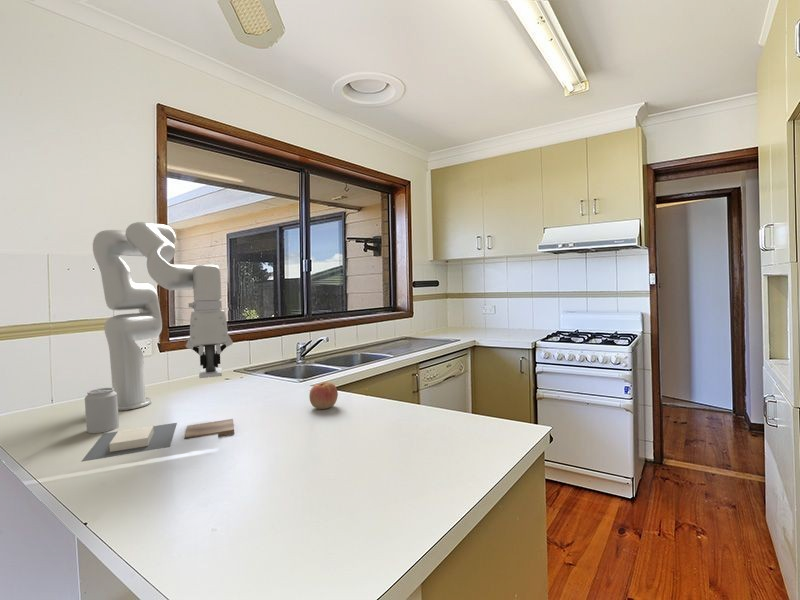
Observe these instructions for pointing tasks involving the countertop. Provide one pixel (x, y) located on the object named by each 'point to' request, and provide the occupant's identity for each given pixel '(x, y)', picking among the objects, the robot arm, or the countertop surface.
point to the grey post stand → (210, 363)
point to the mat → (158, 440)
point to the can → (101, 410)
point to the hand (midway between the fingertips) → (210, 366)
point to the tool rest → (210, 429)
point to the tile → (131, 438)
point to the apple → (323, 395)
